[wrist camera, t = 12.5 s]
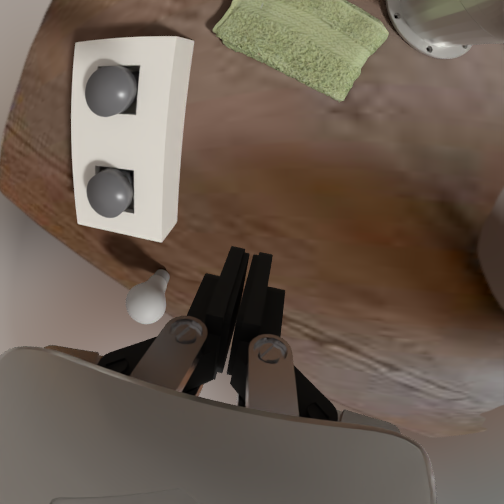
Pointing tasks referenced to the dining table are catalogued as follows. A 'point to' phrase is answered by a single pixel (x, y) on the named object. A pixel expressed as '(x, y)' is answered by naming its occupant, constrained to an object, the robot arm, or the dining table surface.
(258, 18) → the washcloth
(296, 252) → the dining table surface
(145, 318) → the lightbulb
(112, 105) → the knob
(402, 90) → the dining table surface
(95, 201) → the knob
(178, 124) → the box
